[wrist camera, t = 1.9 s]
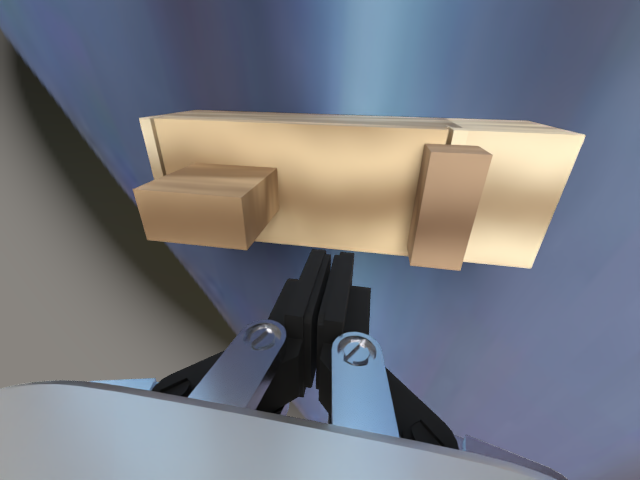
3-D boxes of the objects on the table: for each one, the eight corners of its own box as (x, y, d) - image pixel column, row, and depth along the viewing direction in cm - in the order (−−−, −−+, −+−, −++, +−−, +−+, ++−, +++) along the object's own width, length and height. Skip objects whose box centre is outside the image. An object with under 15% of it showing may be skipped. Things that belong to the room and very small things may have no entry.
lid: (164, 116, 21) (73, 131, 15) (444, 127, 18) (479, 150, 12) (188, 227, 25) (124, 275, 19) (420, 249, 22) (436, 314, 16)
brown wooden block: (424, 143, 18) (431, 151, 16) (478, 146, 17) (492, 154, 15) (406, 246, 21) (410, 265, 19) (451, 250, 21) (460, 270, 18)
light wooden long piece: (196, 109, 26) (138, 118, 20) (527, 120, 22) (585, 135, 16) (211, 201, 30) (167, 232, 24) (494, 224, 26) (531, 268, 20)
